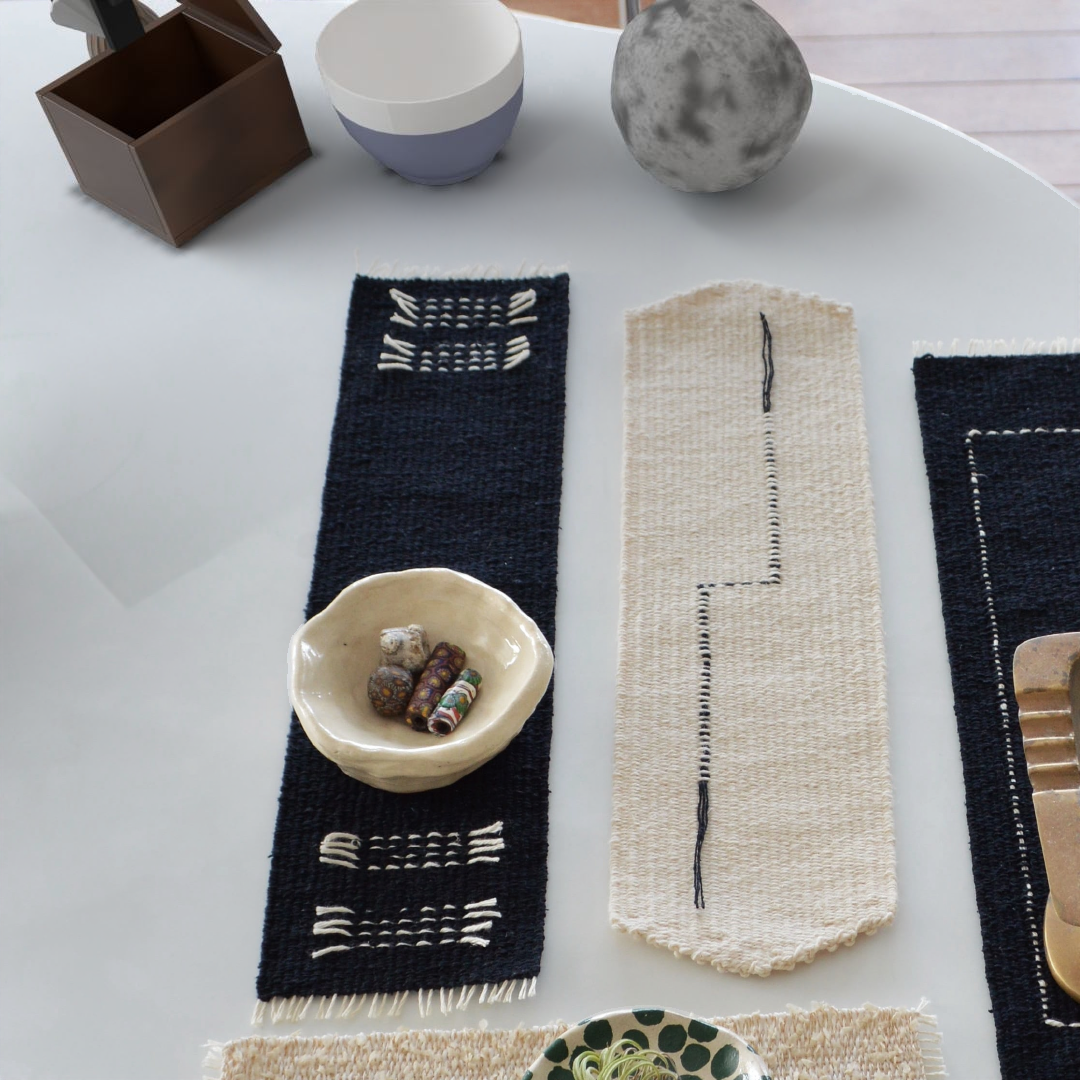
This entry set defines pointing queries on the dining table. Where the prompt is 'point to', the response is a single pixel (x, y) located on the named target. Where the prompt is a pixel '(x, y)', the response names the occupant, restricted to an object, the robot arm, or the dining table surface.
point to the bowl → (425, 82)
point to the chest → (177, 124)
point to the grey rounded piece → (76, 16)
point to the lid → (237, 19)
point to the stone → (708, 92)
